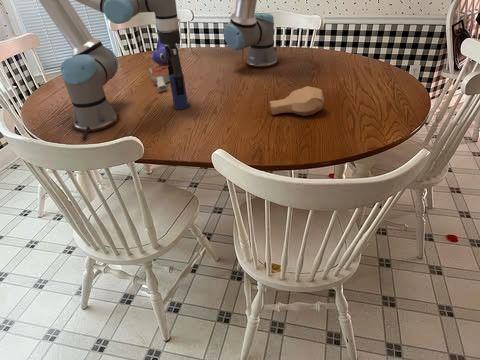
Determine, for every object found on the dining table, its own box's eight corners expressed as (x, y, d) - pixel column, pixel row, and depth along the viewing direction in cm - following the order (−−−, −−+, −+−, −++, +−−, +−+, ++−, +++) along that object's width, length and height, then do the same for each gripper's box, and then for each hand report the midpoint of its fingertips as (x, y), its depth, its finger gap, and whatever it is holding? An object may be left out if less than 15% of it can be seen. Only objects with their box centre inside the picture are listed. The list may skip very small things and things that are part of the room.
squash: (328, 116, 127) (328, 95, 121) (272, 126, 129) (270, 106, 123) (321, 99, 135) (321, 79, 128) (269, 109, 137) (266, 89, 130)
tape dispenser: (162, 96, 154) (191, 78, 166) (160, 85, 150) (189, 67, 163) (133, 88, 161) (162, 71, 174) (130, 77, 158) (160, 60, 170)
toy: (165, 64, 198) (145, 69, 175) (161, 31, 191) (139, 33, 169) (182, 63, 196) (164, 69, 173) (178, 30, 189) (159, 32, 167)
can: (190, 105, 141) (186, 74, 134) (180, 110, 138) (175, 79, 131) (181, 102, 144) (176, 72, 137) (171, 107, 141) (166, 76, 134)
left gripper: (186, 37, 116) (194, 98, 128) (172, 21, 135) (180, 76, 147) (163, 40, 114) (173, 102, 126) (152, 23, 133) (162, 79, 145)
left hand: (177, 88), depth 137 cm, fingers open, 13 cm apart
